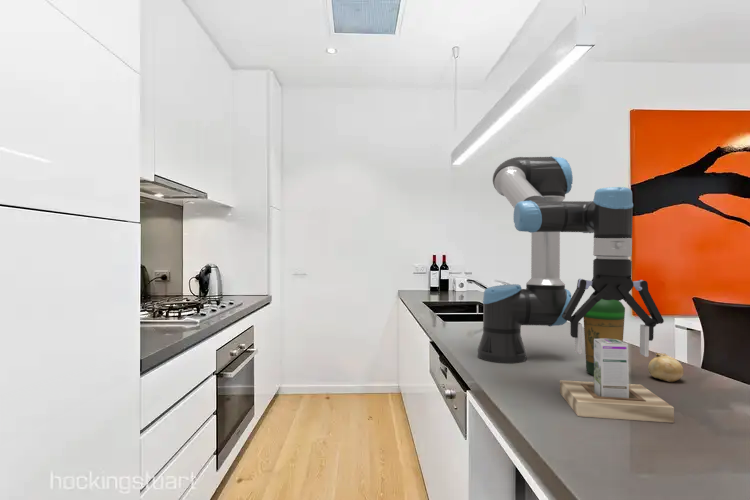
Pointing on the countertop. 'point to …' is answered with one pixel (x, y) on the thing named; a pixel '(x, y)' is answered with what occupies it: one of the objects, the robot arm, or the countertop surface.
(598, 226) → the robot arm
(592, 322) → the bottle
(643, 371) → the countertop surface
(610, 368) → the syrup box
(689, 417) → the countertop surface
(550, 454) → the countertop surface
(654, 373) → the onion
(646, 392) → the beige flat square frame
